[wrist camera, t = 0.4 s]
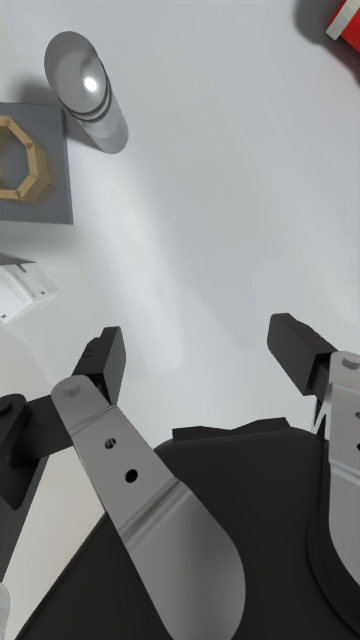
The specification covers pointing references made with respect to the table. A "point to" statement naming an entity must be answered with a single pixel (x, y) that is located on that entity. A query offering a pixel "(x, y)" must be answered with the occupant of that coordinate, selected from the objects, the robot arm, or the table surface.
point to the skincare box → (23, 290)
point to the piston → (85, 90)
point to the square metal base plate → (34, 164)
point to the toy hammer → (346, 23)
